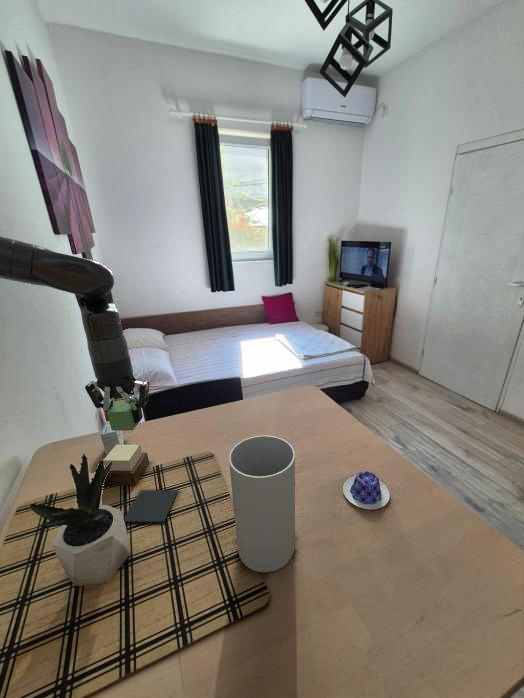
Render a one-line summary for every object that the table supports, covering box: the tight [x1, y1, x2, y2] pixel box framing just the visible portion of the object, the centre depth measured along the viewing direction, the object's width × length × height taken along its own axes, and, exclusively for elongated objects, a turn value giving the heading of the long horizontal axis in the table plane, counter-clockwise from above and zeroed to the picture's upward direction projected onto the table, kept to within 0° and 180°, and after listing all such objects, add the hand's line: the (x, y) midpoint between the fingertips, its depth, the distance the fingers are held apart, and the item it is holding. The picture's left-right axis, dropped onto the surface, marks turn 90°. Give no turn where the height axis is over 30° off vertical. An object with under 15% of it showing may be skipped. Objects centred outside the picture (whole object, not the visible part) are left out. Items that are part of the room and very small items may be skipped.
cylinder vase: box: [228, 434, 296, 573], centre depth 67 cm, size 12×12×25 cm
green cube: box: [106, 400, 142, 432], centre depth 77 cm, size 5×5×5 cm
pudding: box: [342, 470, 391, 510], centre depth 85 cm, size 12×12×5 cm
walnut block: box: [103, 451, 150, 486], centre depth 93 cm, size 9×9×4 cm
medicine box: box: [100, 420, 125, 456], centre depth 102 cm, size 8×4×9 cm, turn 22°
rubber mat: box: [123, 489, 179, 524], centre depth 82 cm, size 10×10×1 cm
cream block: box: [102, 444, 143, 471], centre depth 91 cm, size 7×7×4 cm
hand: (126, 421), depth 77 cm, fingers closed on green cube, 5 cm apart
